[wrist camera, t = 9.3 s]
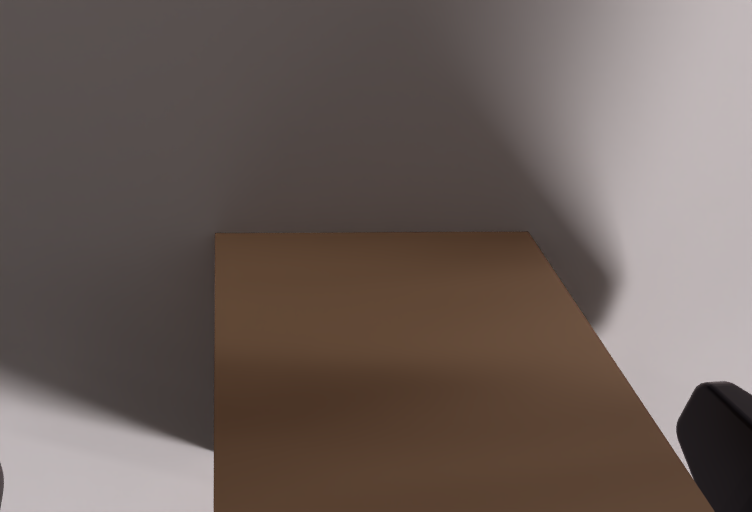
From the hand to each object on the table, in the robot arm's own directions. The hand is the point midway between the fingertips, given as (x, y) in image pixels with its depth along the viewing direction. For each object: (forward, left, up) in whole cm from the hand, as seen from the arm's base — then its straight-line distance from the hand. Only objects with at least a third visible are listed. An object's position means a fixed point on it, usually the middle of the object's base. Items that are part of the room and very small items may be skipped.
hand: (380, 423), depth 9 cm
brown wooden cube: (0, 0, -1) cm, 1 cm away
